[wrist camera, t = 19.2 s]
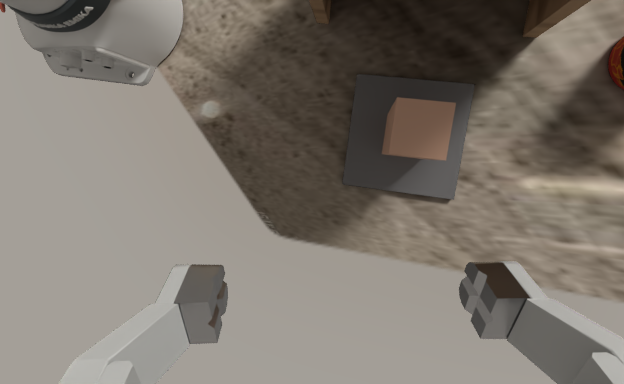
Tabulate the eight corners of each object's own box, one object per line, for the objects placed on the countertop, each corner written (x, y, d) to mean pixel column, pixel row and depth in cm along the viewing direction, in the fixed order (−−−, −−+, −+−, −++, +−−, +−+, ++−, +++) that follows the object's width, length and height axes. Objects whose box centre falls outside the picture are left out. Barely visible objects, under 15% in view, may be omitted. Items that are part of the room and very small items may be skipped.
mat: (452, 198, 41) (453, 199, 40) (342, 183, 43) (342, 184, 42) (472, 85, 39) (474, 84, 38) (357, 75, 41) (357, 73, 40)
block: (422, 159, 40) (446, 160, 29) (381, 154, 41) (388, 153, 29) (428, 118, 40) (455, 102, 28) (387, 114, 40) (397, 97, 29)
